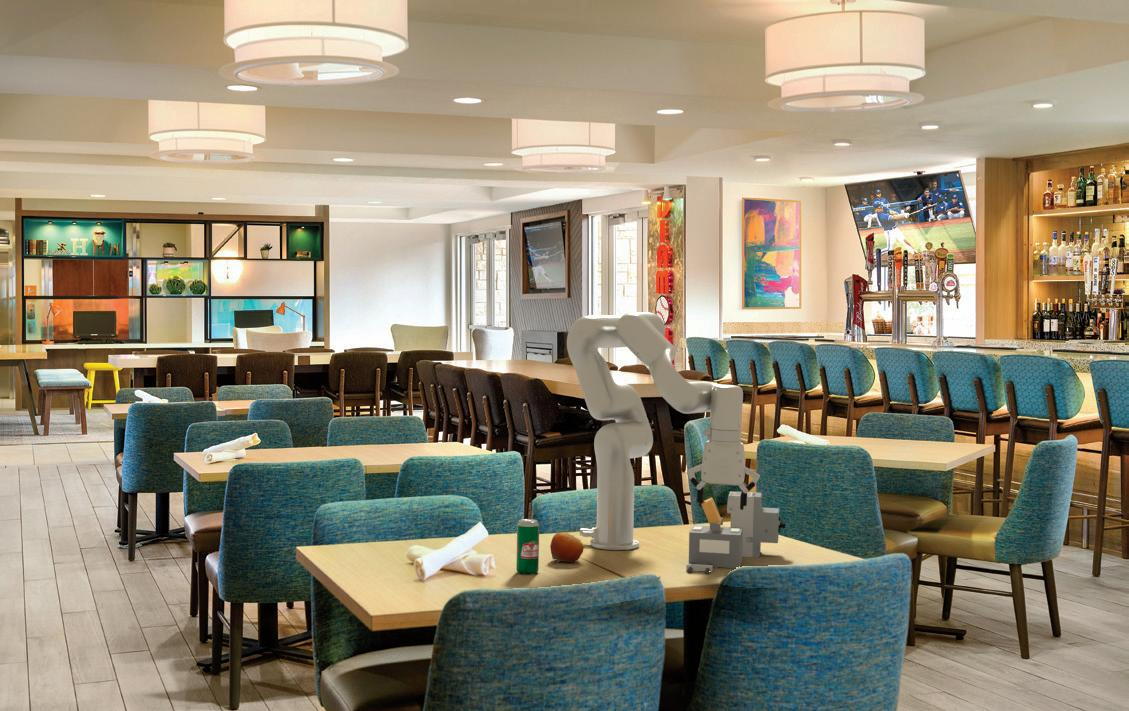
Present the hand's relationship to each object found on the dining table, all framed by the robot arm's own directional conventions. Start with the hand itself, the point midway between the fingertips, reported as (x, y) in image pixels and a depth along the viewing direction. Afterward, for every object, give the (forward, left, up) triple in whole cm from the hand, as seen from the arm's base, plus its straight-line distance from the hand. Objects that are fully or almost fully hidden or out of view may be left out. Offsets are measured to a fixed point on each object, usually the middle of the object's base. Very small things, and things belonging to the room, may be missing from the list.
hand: (721, 507), depth 281 cm
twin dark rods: (-4, -9, -14) cm, 17 cm away
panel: (-1, 0, -14) cm, 14 cm away
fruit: (-36, -8, -14) cm, 39 cm away
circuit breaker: (+8, +14, -14) cm, 21 cm away
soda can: (-42, -23, -14) cm, 50 cm away
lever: (-1, 0, -4) cm, 4 cm away
